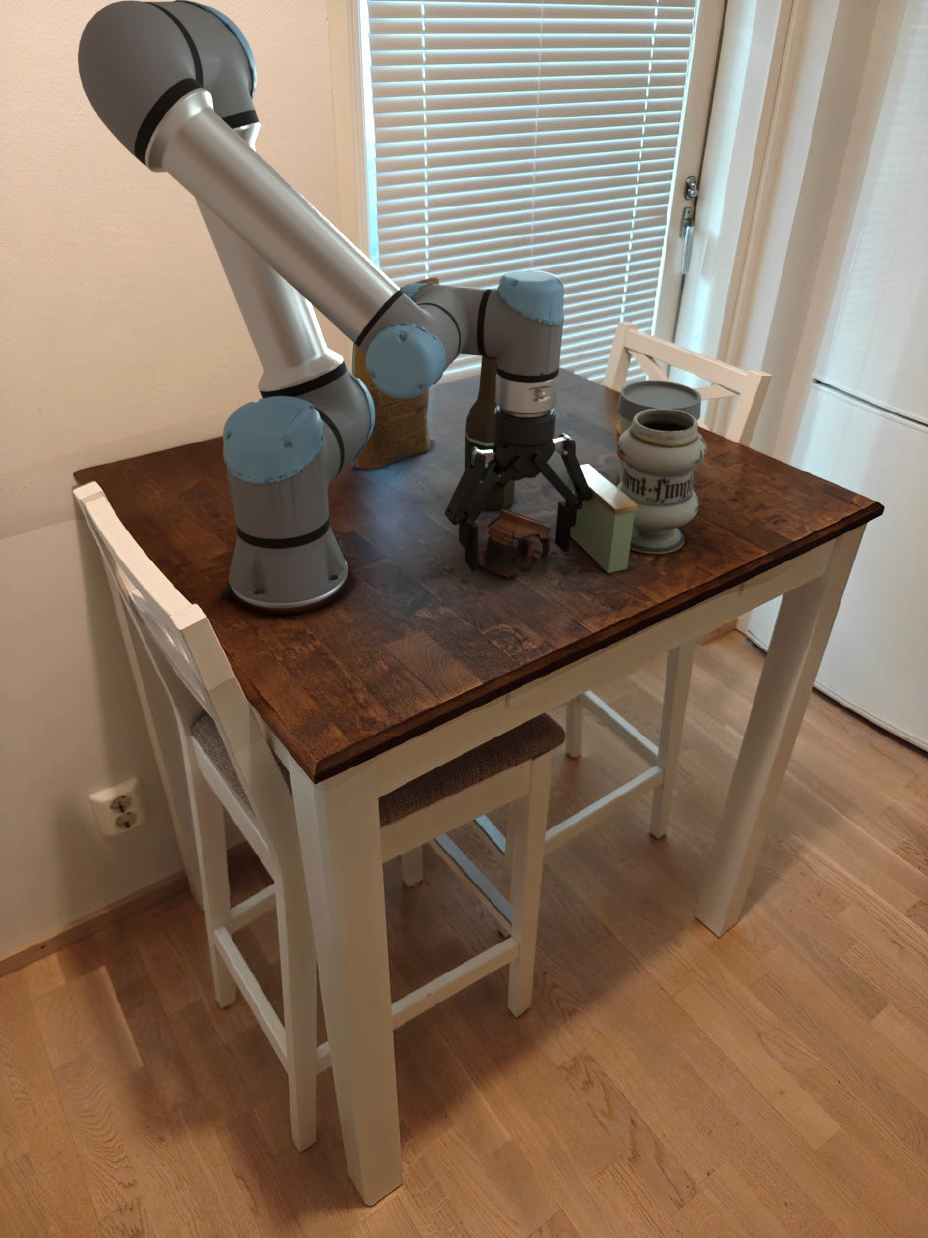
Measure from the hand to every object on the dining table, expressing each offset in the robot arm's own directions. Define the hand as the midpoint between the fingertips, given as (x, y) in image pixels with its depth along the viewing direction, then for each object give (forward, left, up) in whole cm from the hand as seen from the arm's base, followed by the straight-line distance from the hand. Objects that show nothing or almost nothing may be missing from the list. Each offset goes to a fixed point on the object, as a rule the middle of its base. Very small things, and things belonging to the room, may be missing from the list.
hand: (517, 556), depth 121 cm
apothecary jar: (+21, 0, -1) cm, 21 cm away
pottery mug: (0, 0, -1) cm, 1 cm away
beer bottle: (+4, +19, -1) cm, 19 cm away
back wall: (+12, 0, -1) cm, 12 cm away
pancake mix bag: (-4, +39, -1) cm, 39 cm away
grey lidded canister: (+30, +15, -1) cm, 34 cm away
